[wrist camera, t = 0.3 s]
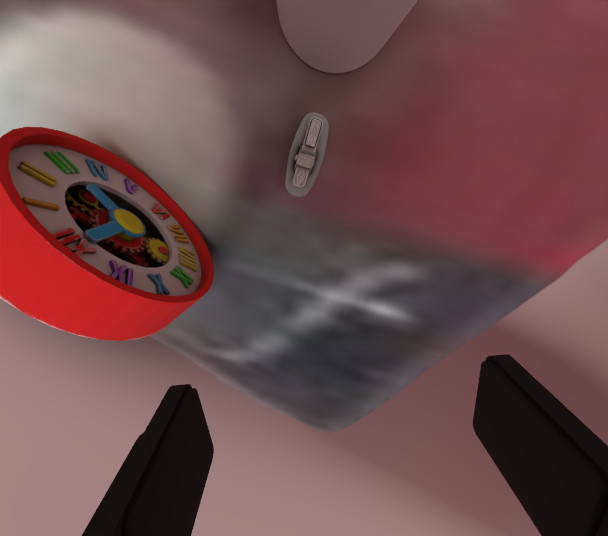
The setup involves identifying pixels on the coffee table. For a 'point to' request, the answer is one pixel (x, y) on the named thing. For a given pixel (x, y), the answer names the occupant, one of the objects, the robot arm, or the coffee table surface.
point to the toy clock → (92, 240)
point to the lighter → (306, 154)
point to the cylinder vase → (340, 30)
